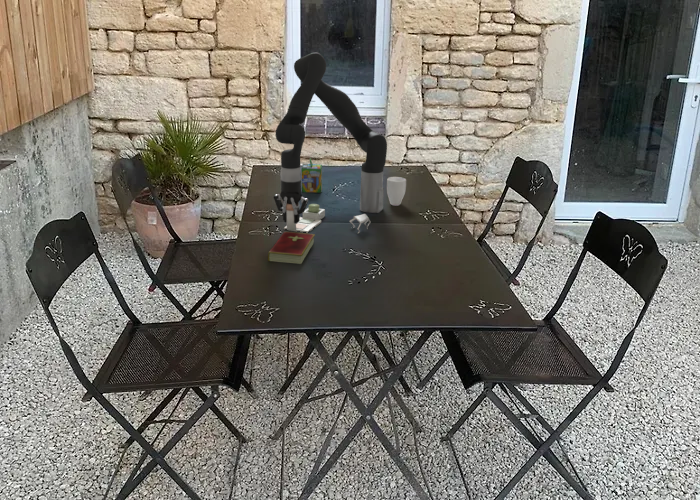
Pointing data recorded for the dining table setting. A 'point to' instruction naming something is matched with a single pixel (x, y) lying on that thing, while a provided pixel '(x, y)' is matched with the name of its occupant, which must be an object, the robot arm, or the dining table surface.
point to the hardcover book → (291, 247)
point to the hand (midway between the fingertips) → (291, 222)
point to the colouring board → (306, 224)
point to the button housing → (314, 214)
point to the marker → (290, 218)
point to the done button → (314, 208)
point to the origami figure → (360, 220)
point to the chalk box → (312, 178)
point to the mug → (396, 189)
